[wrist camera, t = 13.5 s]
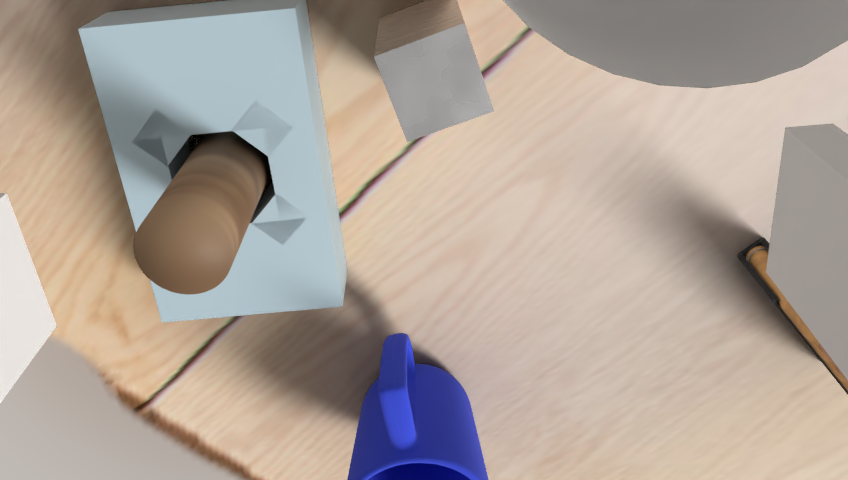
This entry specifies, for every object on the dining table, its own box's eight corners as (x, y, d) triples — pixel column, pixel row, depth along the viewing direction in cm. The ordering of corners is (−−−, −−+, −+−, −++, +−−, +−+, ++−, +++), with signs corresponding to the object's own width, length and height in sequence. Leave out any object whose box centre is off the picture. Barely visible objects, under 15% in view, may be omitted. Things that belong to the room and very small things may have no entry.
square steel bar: (379, 18, 40) (373, 56, 33) (453, -10, 39) (464, 23, 32) (406, 90, 42) (407, 141, 34) (478, 64, 41) (494, 111, 34)
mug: (460, 284, 47) (473, 388, 38) (486, 438, 52) (503, 560, 44) (326, 305, 47) (309, 413, 39) (366, 455, 53) (358, 579, 44)
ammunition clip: (735, 254, 47) (834, 377, 36) (762, 235, 46) (871, 355, 35) (822, 363, 50) (935, 503, 40) (848, 346, 50) (970, 485, 39)
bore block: (107, 12, 39) (78, 28, 36) (305, -8, 39) (295, 8, 36) (180, 285, 47) (162, 322, 43) (347, 270, 46) (342, 306, 43)
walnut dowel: (194, 120, 42) (122, 212, 31) (268, 113, 42) (221, 203, 31) (210, 188, 44) (147, 298, 33) (281, 182, 44) (241, 290, 33)
